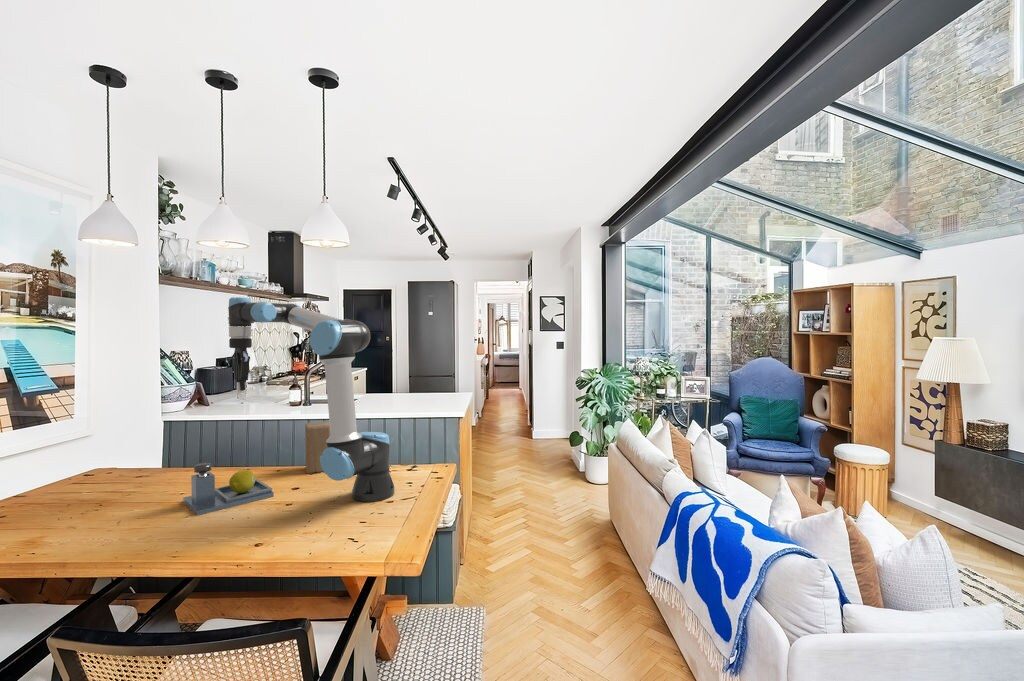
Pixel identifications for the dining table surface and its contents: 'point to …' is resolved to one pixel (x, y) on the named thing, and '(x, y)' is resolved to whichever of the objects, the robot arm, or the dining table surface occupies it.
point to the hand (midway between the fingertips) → (241, 398)
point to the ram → (202, 469)
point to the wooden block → (315, 444)
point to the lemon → (242, 481)
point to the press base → (221, 495)
